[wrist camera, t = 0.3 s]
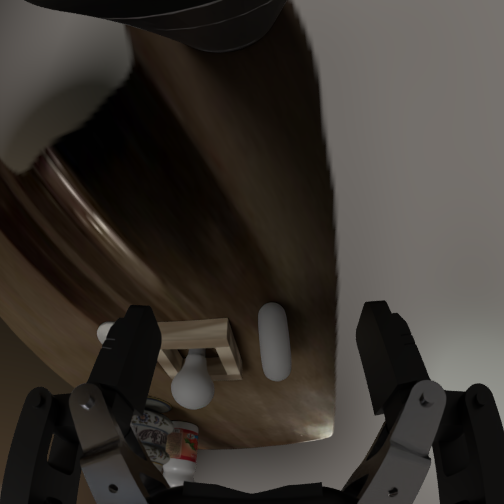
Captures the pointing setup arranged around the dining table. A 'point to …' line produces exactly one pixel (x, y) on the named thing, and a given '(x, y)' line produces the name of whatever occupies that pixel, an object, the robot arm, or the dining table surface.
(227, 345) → the pocket
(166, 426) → the apothecary jar
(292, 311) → the dining table surface
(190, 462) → the fruit juice
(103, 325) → the white round part
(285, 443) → the dining table surface
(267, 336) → the donut
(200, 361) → the lightbulb
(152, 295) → the dining table surface
